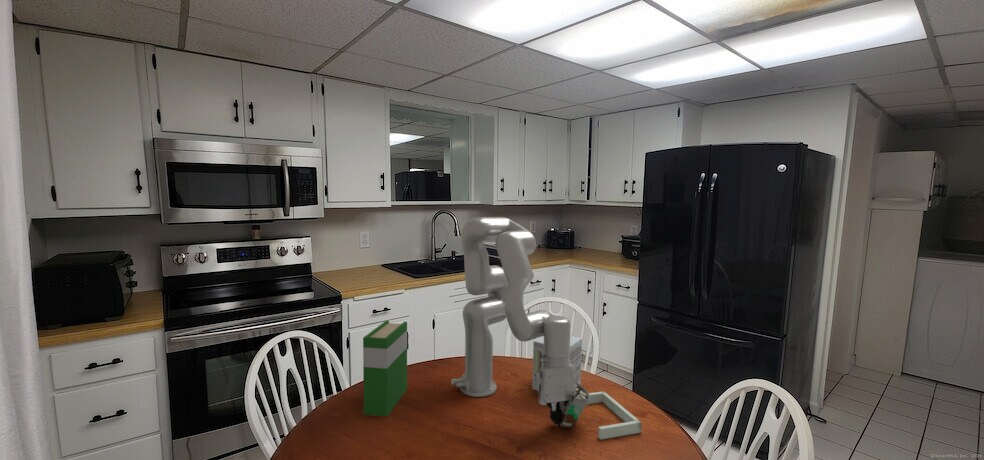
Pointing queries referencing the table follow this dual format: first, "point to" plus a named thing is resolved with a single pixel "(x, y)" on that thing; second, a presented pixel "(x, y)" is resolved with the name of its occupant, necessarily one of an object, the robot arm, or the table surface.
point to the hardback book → (384, 367)
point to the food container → (574, 407)
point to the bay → (621, 429)
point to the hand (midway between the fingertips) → (555, 421)
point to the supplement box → (574, 358)
